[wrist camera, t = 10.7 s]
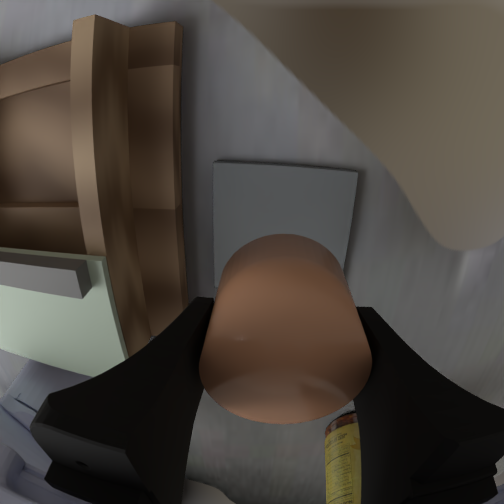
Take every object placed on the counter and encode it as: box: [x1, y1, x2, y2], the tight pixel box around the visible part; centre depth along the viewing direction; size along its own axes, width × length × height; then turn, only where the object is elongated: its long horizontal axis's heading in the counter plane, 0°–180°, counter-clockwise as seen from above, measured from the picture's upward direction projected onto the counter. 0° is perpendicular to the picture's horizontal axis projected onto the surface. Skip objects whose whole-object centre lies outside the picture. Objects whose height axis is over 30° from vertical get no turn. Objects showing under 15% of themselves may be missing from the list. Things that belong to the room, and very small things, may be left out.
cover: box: [0, 247, 129, 377], centre depth 17 cm, size 9×15×2 cm, turn 88°
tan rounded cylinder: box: [199, 234, 372, 424], centre depth 11 cm, size 5×5×4 cm
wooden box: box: [0, 15, 189, 357], centre depth 17 cm, size 20×20×5 cm
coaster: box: [213, 161, 358, 288], centre depth 19 cm, size 8×8×1 cm
